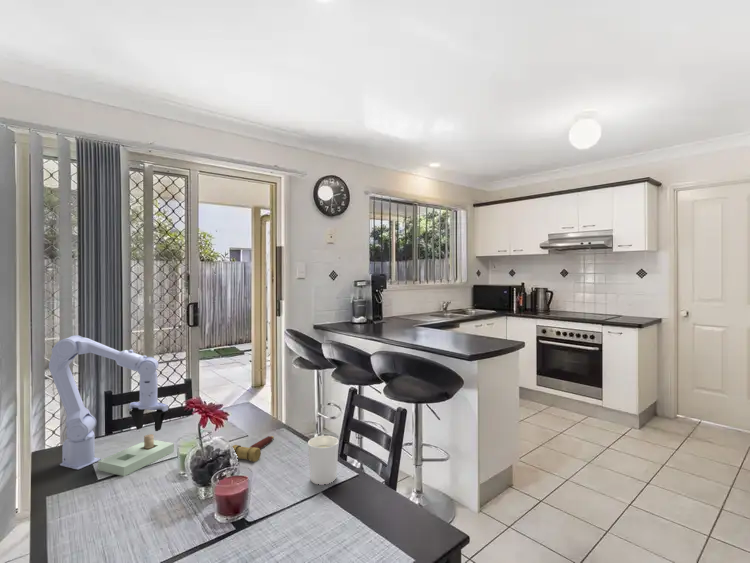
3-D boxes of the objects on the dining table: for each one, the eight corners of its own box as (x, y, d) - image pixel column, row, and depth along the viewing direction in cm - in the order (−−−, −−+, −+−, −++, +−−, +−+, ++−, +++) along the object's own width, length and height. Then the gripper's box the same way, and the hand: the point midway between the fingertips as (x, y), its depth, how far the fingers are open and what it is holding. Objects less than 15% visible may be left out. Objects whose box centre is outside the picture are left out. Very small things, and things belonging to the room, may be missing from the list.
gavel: (262, 429, 166) (284, 432, 163) (262, 441, 166) (284, 444, 163) (229, 447, 146) (253, 450, 143) (229, 460, 146) (253, 464, 143)
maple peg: (141, 456, 148) (141, 437, 148) (148, 452, 151) (148, 433, 151) (149, 457, 147) (149, 438, 147) (156, 453, 150) (155, 434, 150)
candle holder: (317, 489, 125) (317, 450, 125) (302, 476, 133) (302, 440, 133) (344, 480, 131) (344, 442, 131) (329, 468, 139) (329, 433, 139)
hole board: (98, 470, 137) (98, 461, 137) (149, 446, 156) (149, 438, 156) (124, 476, 133) (124, 467, 133) (173, 451, 152) (173, 443, 152)
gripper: (122, 393, 146) (122, 431, 146) (158, 396, 143) (158, 435, 143) (137, 388, 153) (137, 424, 153) (172, 390, 150) (172, 427, 150)
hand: (148, 429), depth 149 cm, fingers open, 7 cm apart
